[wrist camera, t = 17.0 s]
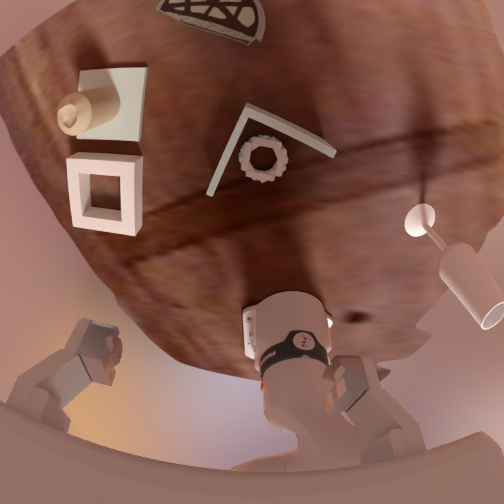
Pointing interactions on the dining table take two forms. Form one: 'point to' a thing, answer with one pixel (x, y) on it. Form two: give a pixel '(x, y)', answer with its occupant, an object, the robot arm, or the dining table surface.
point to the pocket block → (130, 184)
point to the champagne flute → (461, 270)
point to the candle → (87, 110)
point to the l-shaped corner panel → (265, 145)
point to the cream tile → (131, 101)
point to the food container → (219, 17)
